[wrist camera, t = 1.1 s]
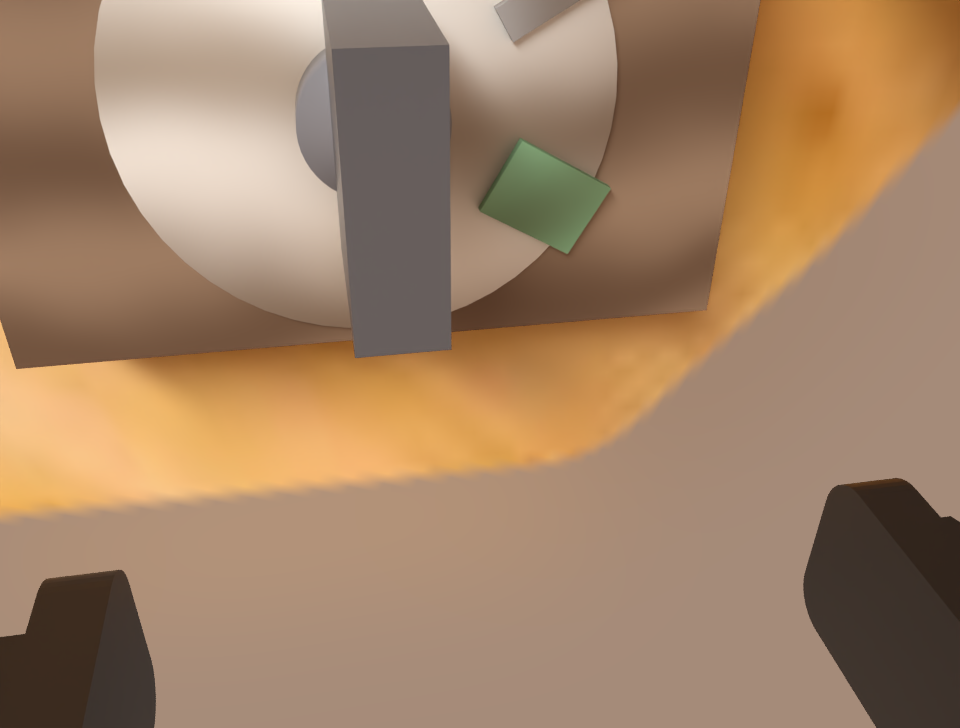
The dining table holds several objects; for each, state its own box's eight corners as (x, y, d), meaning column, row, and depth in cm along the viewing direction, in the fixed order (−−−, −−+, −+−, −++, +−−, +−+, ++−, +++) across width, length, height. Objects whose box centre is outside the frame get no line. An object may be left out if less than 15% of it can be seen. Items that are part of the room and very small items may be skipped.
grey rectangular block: (281, -23, 22) (281, 50, 16) (442, -26, 23) (496, 43, 17) (317, 332, 28) (327, 477, 22) (445, 321, 28) (487, 460, 23)
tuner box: (-97, -229, 23) (-189, -227, 18) (717, -219, 26) (808, -216, 22) (51, 289, 31) (12, 378, 27) (656, 245, 35) (712, 317, 30)
